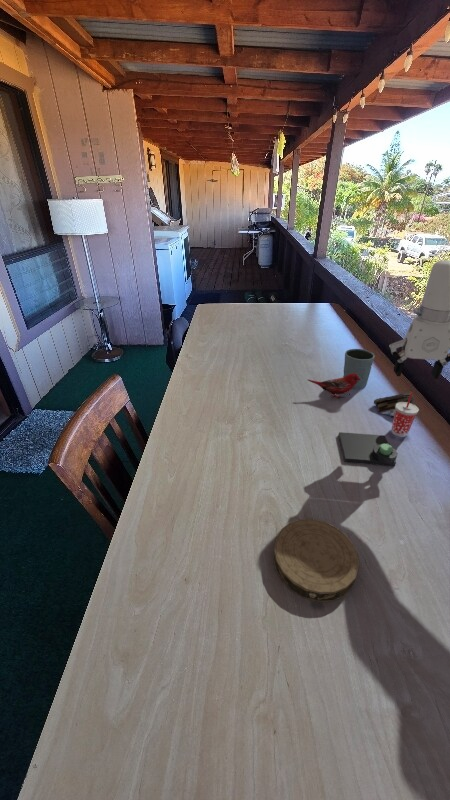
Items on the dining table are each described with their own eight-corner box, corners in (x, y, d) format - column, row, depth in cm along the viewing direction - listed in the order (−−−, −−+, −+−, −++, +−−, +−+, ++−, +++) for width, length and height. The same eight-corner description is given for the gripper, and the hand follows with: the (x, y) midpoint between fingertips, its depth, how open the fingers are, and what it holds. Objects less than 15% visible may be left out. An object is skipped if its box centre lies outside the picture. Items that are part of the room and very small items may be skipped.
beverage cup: (399, 424, 109) (411, 385, 102) (415, 435, 104) (428, 395, 97) (384, 429, 107) (395, 389, 100) (399, 440, 102) (411, 399, 95)
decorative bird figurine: (357, 401, 121) (362, 376, 116) (305, 396, 124) (308, 371, 119) (356, 397, 123) (361, 372, 118) (305, 392, 127) (308, 368, 121)
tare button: (389, 449, 95) (390, 443, 94) (392, 456, 92) (393, 451, 91) (377, 448, 95) (379, 443, 94) (380, 455, 93) (382, 450, 92)
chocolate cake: (372, 416, 114) (407, 401, 106) (371, 400, 118) (405, 385, 110) (389, 431, 117) (425, 418, 109) (387, 416, 122) (422, 402, 114)
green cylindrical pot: (368, 391, 127) (375, 361, 121) (339, 387, 130) (344, 357, 124) (367, 379, 135) (374, 350, 129) (340, 375, 138) (345, 347, 132)
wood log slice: (369, 558, 70) (372, 548, 68) (332, 621, 59) (334, 612, 58) (300, 516, 79) (301, 506, 77) (257, 564, 69) (258, 555, 67)
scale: (385, 439, 103) (387, 431, 101) (397, 467, 92) (400, 459, 91) (338, 435, 104) (339, 427, 103) (344, 463, 94) (346, 454, 92)
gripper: (403, 317, 85) (386, 379, 94) (480, 320, 83) (454, 384, 92) (394, 308, 91) (379, 367, 100) (465, 311, 89) (443, 371, 98)
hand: (415, 375), depth 96 cm, fingers open, 9 cm apart
